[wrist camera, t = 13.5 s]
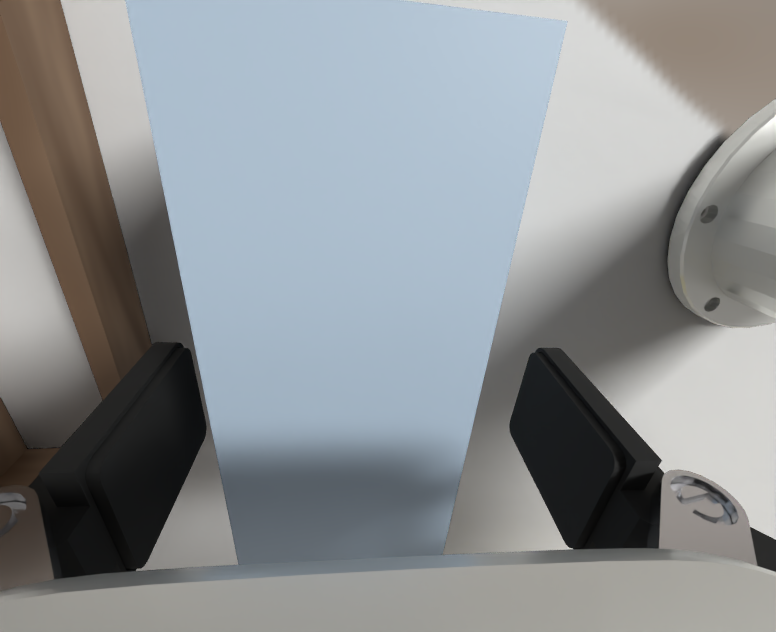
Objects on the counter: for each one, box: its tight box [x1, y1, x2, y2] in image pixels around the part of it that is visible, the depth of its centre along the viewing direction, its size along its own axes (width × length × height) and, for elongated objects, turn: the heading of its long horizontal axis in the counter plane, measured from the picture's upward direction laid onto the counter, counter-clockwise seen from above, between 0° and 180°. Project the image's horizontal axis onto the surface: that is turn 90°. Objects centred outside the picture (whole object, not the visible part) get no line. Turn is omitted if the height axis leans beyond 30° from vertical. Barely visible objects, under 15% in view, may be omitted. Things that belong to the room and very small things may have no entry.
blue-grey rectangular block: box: [125, 0, 568, 565], centre depth 13 cm, size 5×16×12 cm, turn 176°
